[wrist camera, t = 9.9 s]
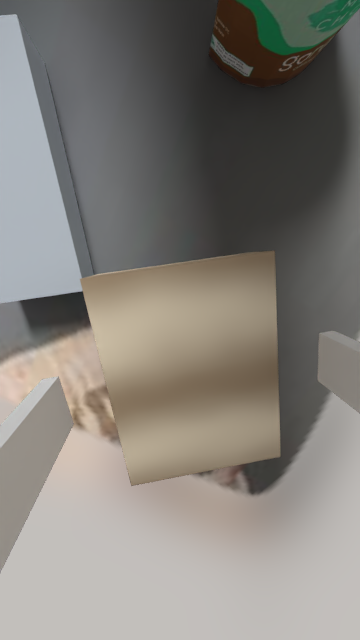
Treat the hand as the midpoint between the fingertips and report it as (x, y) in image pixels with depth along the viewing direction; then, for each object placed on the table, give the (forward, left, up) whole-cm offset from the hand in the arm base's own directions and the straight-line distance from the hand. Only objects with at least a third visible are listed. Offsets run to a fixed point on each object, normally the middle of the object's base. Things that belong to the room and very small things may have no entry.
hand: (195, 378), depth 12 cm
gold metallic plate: (0, 0, -3) cm, 3 cm away
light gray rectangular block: (-12, -9, -8) cm, 17 cm away
